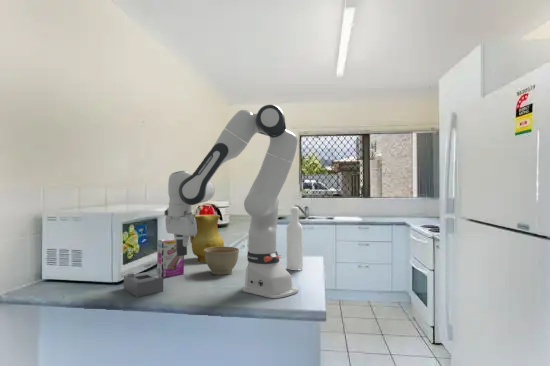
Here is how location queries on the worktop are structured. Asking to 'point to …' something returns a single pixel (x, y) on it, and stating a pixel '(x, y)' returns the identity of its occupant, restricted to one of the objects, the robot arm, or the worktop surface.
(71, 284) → the worktop surface
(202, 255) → the pitcher
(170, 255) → the candy bar box
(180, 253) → the lens
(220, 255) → the planter bowl
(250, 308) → the worktop surface
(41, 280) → the worktop surface
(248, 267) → the robot arm
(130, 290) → the block
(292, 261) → the bottle
